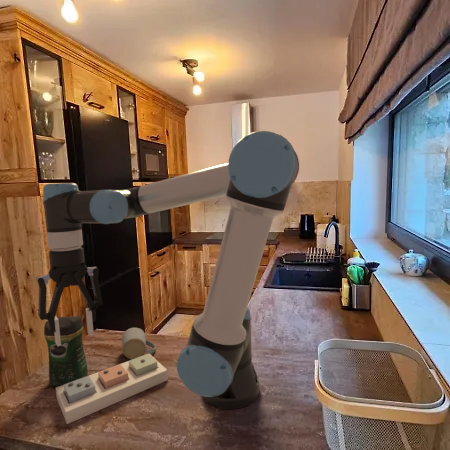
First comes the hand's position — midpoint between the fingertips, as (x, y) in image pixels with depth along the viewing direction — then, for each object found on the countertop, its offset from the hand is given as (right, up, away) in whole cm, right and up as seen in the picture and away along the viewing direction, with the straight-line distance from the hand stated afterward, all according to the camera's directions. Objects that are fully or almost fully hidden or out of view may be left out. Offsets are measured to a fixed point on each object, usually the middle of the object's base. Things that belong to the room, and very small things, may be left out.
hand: (74, 338), depth 79 cm
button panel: (+7, -16, +7) cm, 19 cm away
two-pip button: (+7, -14, +7) cm, 18 cm away
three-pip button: (+1, -15, +2) cm, 15 cm away
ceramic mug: (+9, -14, +26) cm, 31 cm away
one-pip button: (+14, -14, +12) cm, 23 cm away
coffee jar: (-7, -16, +12) cm, 22 cm away
